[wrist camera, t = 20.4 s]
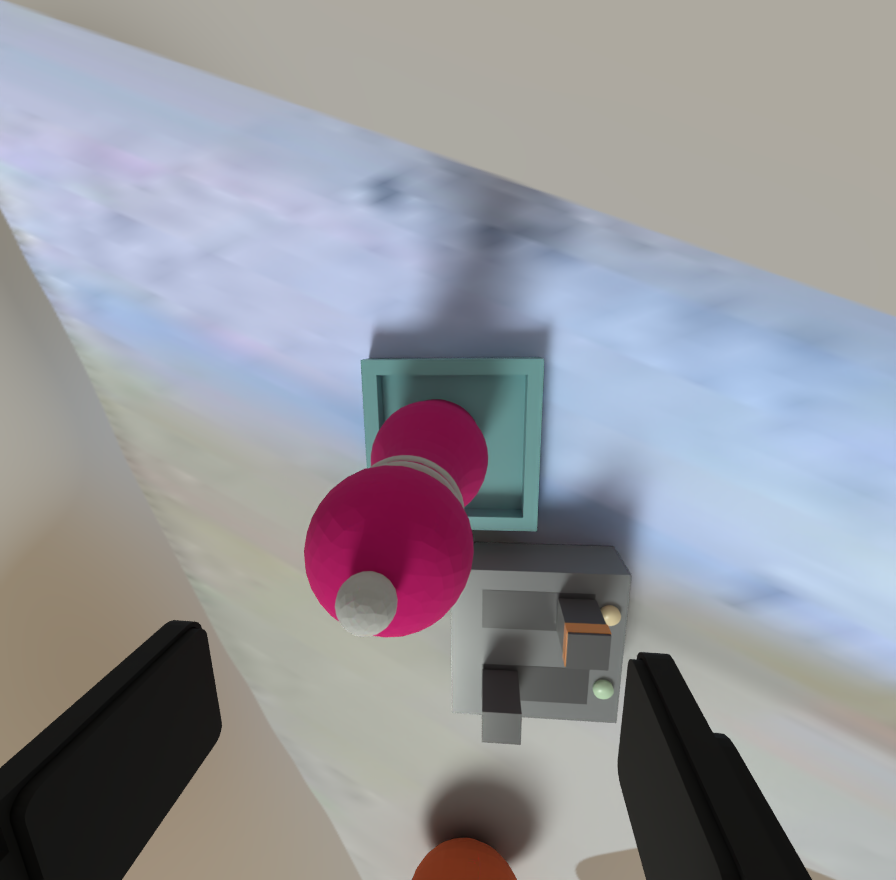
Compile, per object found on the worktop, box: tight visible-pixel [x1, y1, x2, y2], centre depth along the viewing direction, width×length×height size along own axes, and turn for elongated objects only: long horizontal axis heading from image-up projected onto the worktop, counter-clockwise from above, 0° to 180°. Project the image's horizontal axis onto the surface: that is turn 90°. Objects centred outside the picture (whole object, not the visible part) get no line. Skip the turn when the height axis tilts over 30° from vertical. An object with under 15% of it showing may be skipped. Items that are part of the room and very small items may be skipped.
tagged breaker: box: [556, 598, 612, 671], centre depth 27 cm, size 3×2×4 cm
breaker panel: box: [451, 542, 631, 723], centre depth 32 cm, size 12×12×4 cm
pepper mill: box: [304, 399, 488, 637], centre depth 21 cm, size 7×7×20 cm
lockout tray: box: [361, 357, 544, 531], centre depth 30 cm, size 12×12×2 cm
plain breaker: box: [482, 669, 522, 745], centre depth 29 cm, size 2×2×4 cm
